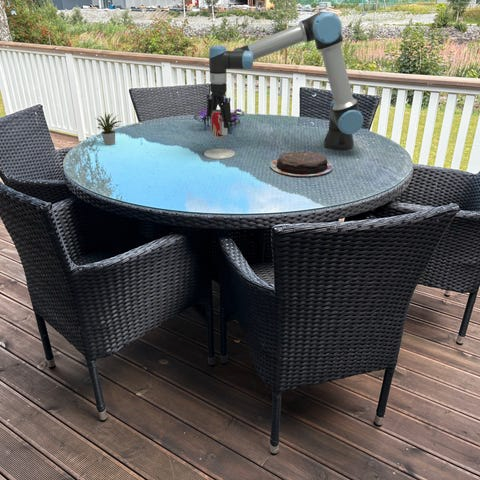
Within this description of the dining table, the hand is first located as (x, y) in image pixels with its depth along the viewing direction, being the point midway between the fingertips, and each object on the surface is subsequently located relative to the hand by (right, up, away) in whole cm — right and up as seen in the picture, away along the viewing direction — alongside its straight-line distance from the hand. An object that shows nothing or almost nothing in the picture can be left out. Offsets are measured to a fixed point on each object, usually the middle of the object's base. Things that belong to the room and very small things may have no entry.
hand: (219, 133), depth 218 cm
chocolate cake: (+38, -19, -12) cm, 44 cm away
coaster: (0, -9, +5) cm, 11 cm away
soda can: (0, -2, +1) cm, 2 cm away
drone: (-3, +14, +50) cm, 52 cm away
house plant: (-59, -1, +21) cm, 62 cm away
